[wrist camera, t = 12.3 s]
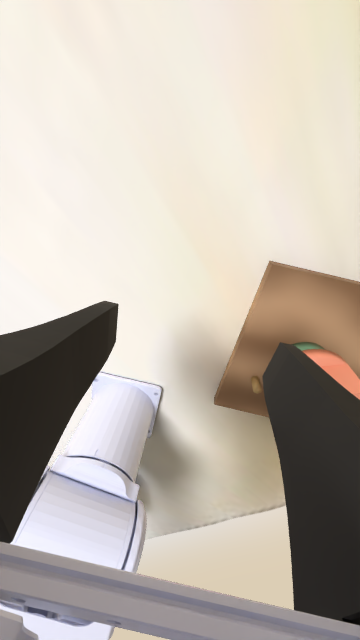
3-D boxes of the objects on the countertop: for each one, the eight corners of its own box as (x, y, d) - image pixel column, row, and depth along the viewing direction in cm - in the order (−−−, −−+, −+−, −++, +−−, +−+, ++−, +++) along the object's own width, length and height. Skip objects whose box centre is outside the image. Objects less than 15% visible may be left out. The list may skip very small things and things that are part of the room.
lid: (351, 344, 18) (389, 385, 14) (345, 399, 20) (375, 446, 17) (269, 354, 19) (284, 394, 15) (273, 404, 22) (287, 449, 18)
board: (317, 421, 26) (326, 442, 24) (214, 397, 26) (214, 416, 24) (417, 295, 18) (445, 309, 16) (269, 260, 18) (277, 270, 16)
